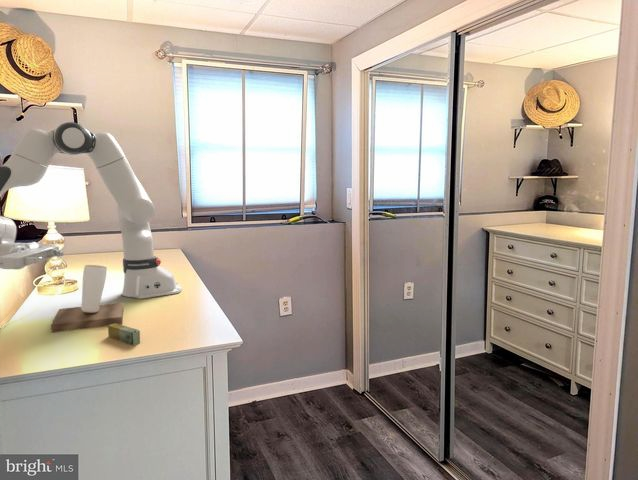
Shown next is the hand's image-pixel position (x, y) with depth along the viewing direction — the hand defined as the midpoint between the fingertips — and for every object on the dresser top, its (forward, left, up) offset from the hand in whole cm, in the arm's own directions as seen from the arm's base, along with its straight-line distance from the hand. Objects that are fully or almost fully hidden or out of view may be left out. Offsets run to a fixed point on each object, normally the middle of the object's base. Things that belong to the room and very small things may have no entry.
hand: (52, 256), depth 152 cm
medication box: (-21, +28, -21) cm, 41 cm away
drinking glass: (-10, +6, -18) cm, 22 cm away
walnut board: (-10, +6, -21) cm, 24 cm away
